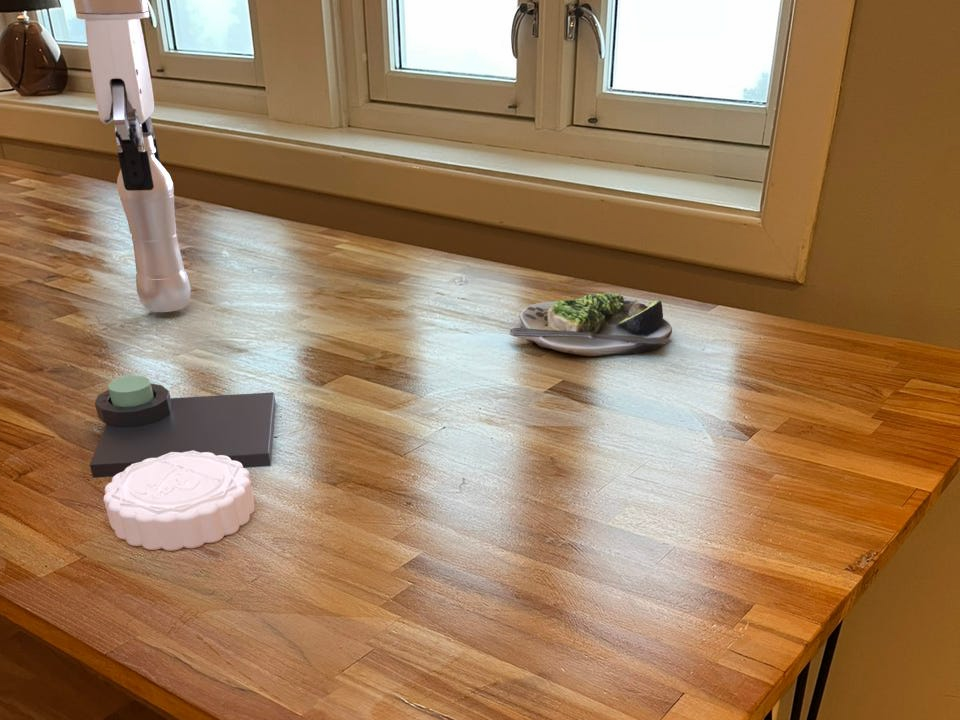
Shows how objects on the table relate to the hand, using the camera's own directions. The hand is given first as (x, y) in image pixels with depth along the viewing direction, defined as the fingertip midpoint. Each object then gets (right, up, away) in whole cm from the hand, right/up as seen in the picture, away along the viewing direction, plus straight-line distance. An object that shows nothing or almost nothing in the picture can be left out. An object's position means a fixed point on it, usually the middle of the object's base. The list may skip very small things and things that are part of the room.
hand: (144, 181), depth 114 cm
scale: (+11, -35, -20) cm, 41 cm away
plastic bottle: (0, -12, +9) cm, 15 cm away
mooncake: (+14, -44, -31) cm, 56 cm away
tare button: (+5, -30, -19) cm, 36 cm away
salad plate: (+54, -18, +2) cm, 57 cm away
